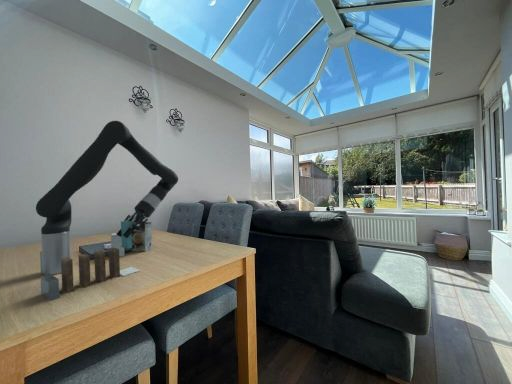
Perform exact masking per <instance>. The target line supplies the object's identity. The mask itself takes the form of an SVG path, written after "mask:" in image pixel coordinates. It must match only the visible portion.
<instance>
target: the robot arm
mask: <svg viewBox="0 0 512 384" xmlns="http://www.w3.org/2000/svg"><path fill="white" fill-rule="evenodd" d="M117 145H119V146H121V147H122V148H123V149H125V150H126V151H128V152H129V153H130V154H131V155H132V156H133V157H134V159H136V160H137V162H139V164H140V165H141V166H143V167H144V168H145V169H146V170H147V171H148V172H149V173H150V174H151V175H153V176H158V177H159V178H161V179H160V180H159V181H158V182H157V184H156V185H154V186H153V187H152V188H151V190H150V191H148V193H146V195H145V196H143V197H142V198H141V199H140V201H138V203H137V204H136V205H135V206H134V208H133V209H134V213H132V214H128V215H127V216H126V217H125V219H124V220H123V221H131V225H130V228H128V229H127V230H126V232H125V233H124V234H123V236H124V237H125V238H128V237H129V236H130V235H131V233H132V232H133V231H135V230H136V229H137V230H138V229H139V228H140V227H141V226H142V225H143V224H144V223H145V222H148V220H149V219H148V218H150V217H151V216H152V215H153V213H154V212H155V211H156V210H157V209H158V207H159V206H160V204H161V202H162V201H163V200H164V199H165V198H166V196H167V195H168V193H169V192H170V191H171V190H172V189H173V188H174V187H175V186H176V185H177V184H178V181H179V176H178V175H177V173H176V172H175V171H174V170H173V169H171V168H169V167H168V166H166V165H165V164H163V163H162V162H161V161H160V160H159V159H158V158H157V157H156V156H155V155H153V154H152V153H151V152H150V151H148V150H147V149H146V148H145V147H144V146H143V145H142V144H140V143H139V141H138V140H137V139H136V138H135V136H134V135H133V134H132V133H131V132H130V130H129V128H128V127H127V126H126V125H125V124H124V123H123V122H121V121H119V120H111V121H109V122H107V123H106V124H105V125H104V126H103V128H102V129H101V131H100V133H99V134H98V135H97V137H96V139H95V140H94V141H93V143H91V144H90V145H89V146H88V148H87V149H85V151H84V152H83V153H82V154H81V155H80V156H79V157H78V158H77V159H76V160H75V162H74V163H73V164H72V165H71V166H70V168H69V169H68V170H67V171H66V172H65V173H64V174H63V176H62V177H61V178H60V179H59V180H58V182H57V183H56V184H55V185H54V186H53V187H51V189H50V190H49V191H47V192H46V193H45V194H44V195H43V196H42V197H40V198H39V200H38V201H37V203H36V205H35V210H36V214H37V215H39V216H40V217H42V218H46V219H45V223H44V224H43V226H41V229H40V230H41V231H40V232H41V234H40V235H41V251H39V261H40V262H39V263H40V274H41V275H42V276H45V275H49V274H51V275H53V276H54V275H58V274H62V273H61V259H62V258H67V257H68V258H70V259H72V258H71V256H72V255H71V231H70V230H71V229H70V227H71V225H72V203H71V201H70V199H71V197H72V196H73V195H74V194H75V193H77V191H79V190H80V189H82V188H83V187H85V186H86V185H87V184H89V183H90V182H91V181H93V179H94V178H96V176H97V175H98V174H99V173H100V171H101V170H102V169H103V167H104V165H105V163H106V161H107V158H108V157H109V154H110V152H111V151H112V150H113V149H114V148H115V147H116V146H117ZM117 235H118V236H119V237H121V228H120V229H119V230H118V231H117Z"/></svg>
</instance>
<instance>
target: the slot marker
mask: <svg viewBox="0 0 512 384" xmlns="http://www.w3.org/2000/svg"><path fill="white" fill-rule="evenodd" d="M141 271H142V270H141V269H139V268H135V267H132V266H129V267H126V268H123V269H120V277H126V276H129V275H132V274H135V273H138V272H141Z"/></svg>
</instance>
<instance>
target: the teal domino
mask: <svg viewBox="0 0 512 384" xmlns="http://www.w3.org/2000/svg"><path fill="white" fill-rule="evenodd" d="M130 225H131V221H124V220H123V221H120V229H121V238H122V247H123V248H124V249H132V233H131V235H130V236H129V237H128V238H125V237H124V236H123V234H124V233H125V232H126V230H127V229H128V228H130Z"/></svg>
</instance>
